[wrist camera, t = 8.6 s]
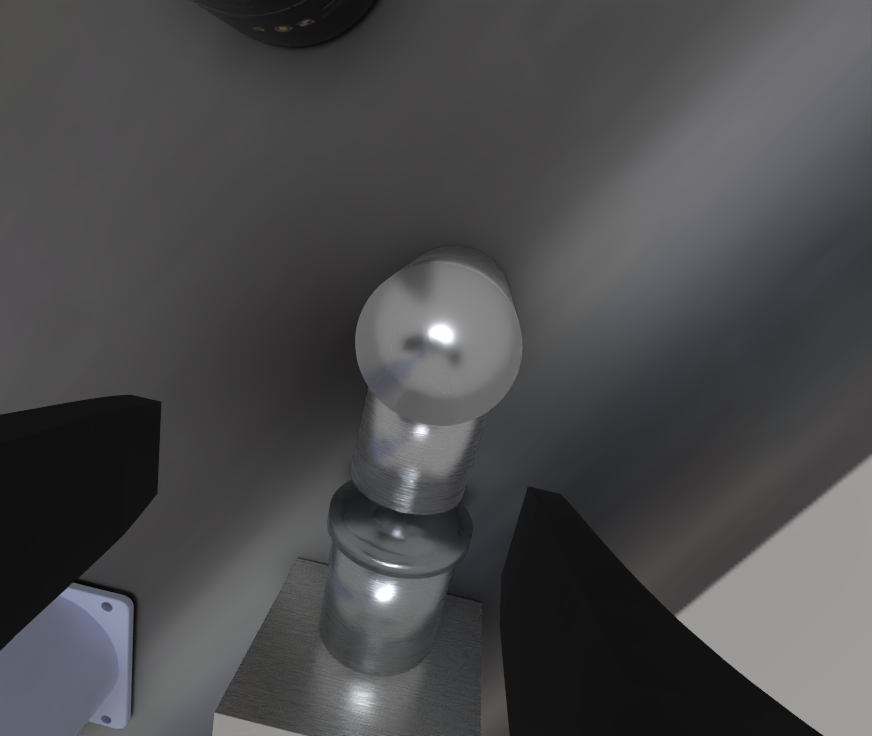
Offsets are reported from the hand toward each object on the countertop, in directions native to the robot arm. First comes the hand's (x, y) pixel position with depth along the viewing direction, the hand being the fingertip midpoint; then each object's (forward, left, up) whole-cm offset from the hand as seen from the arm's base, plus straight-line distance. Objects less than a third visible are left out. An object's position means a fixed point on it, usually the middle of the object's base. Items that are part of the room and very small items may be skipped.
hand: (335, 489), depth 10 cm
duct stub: (+1, -8, -9) cm, 12 cm away
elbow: (+1, 0, -9) cm, 9 cm away
